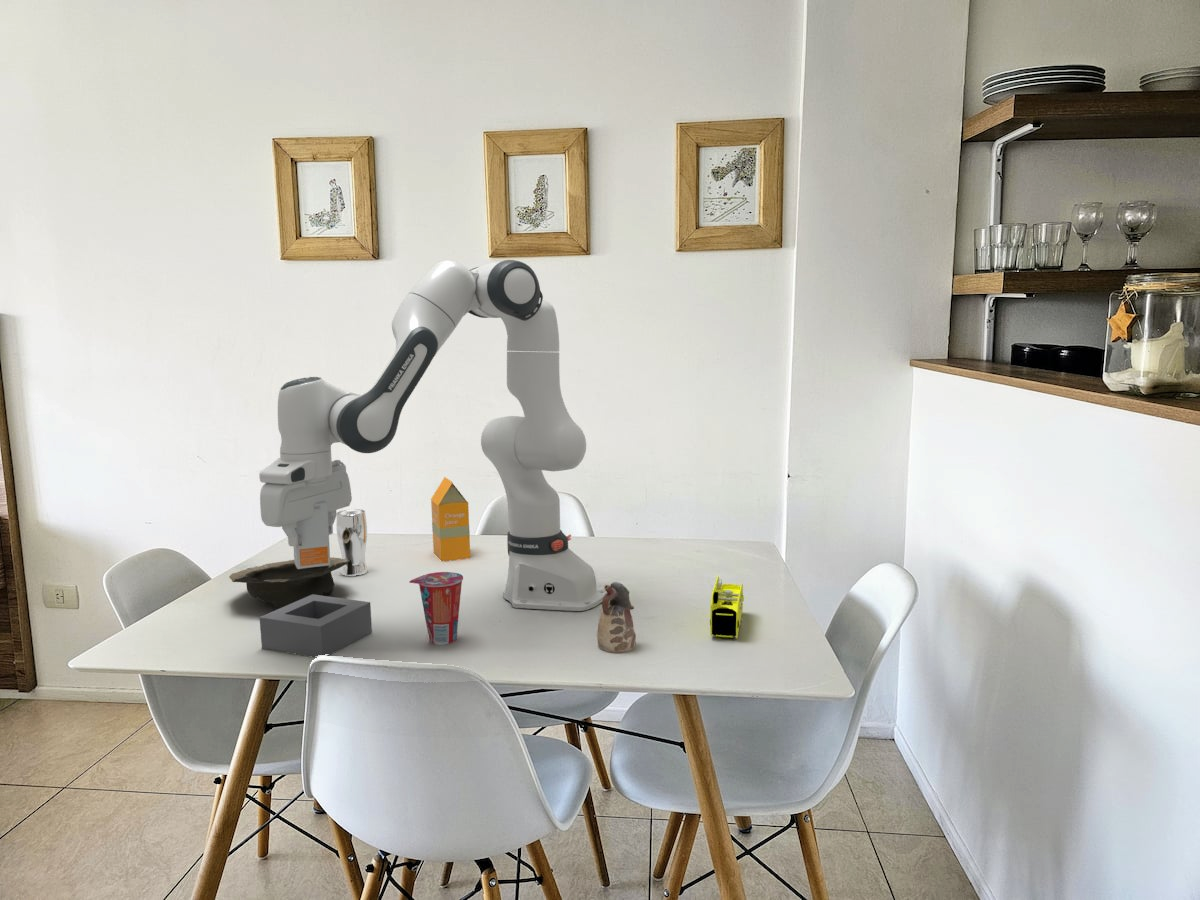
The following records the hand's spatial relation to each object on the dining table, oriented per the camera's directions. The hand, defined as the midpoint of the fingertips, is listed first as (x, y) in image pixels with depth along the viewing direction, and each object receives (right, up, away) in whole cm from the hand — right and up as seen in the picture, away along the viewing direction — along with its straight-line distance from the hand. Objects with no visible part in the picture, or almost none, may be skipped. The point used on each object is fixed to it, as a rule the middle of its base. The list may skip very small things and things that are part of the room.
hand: (311, 540), depth 154 cm
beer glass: (-6, -13, +46) cm, 48 cm away
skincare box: (0, -5, +1) cm, 5 cm away
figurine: (+57, -19, -2) cm, 60 cm away
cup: (+24, -19, +2) cm, 31 cm away
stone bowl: (-14, -16, +28) cm, 35 cm away
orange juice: (+15, -11, +60) cm, 63 cm away
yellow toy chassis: (+78, -18, +7) cm, 81 cm away
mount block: (0, -19, +3) cm, 19 cm away
